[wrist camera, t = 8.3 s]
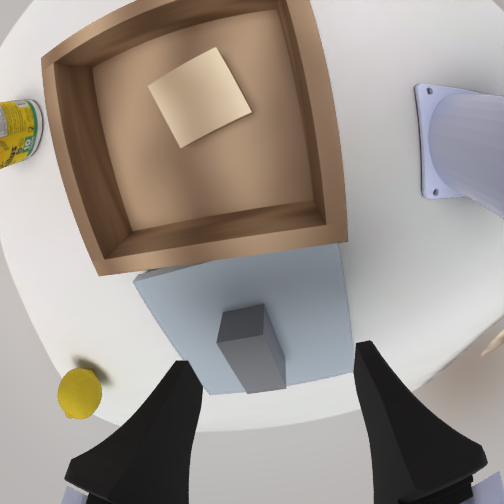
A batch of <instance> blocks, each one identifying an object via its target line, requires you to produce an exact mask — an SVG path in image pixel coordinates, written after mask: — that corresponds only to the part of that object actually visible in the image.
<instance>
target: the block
mask: <svg viewBox="0 0 504 504" xmlns="http://www.w3.org/2000/svg"><path fill="white" fill-rule="evenodd" d="M148 88H149V90H150V92H151V93H152V95H153V97H154V99H155V101H156V103H157V105H158V107H159V109H160V111H161V112H162V114H163V116H164V118H165V120H166V122H167V124H168V126H169V127H170V129H171V131H172V133H173V135H174V137H175V139H176V141H177V142H178V144H179V146H180V148H183V147H186V146H189V145H192V144H193V143H195V142H197V141H199V140H201V139H203V138H204V137H206V136H208V135H210V134H212V133H214V132H216V131H218V130H220V129H222V128H224V127H226V126H228V125H230V124H232V123H234V122H236V121H238V120H240V119H242V118H245V117H247V116H249V115H251V114H253V111H252V109H251V107H250V105H249V103H248V101H247V99H246V97H245V95H244V94H243V92H242V90H241V88H240V86H239V84H238V82H237V81H236V79H235V77H234V75H233V73H232V71H231V70H230V68H229V66H228V64H227V63H226V61H225V59H224V57H223V56H222V54H221V53H220V52H219V50H218V49H217V48H216V47H215V48H213V49H211V50H209V51H207V52H205V53H203V54H201V55H199V56H197V57H195V58H193V59H192V60H190V61H188V62H186V63H184V64H183V65H181V66H179V67H177V68H176V69H174V70H172V71H171V72H169V73H167V74H166V75H164V76H163V77H161V78H159V79H158V80H156V81H155V82H153V83H152V84H150V85H149V86H148Z"/></svg>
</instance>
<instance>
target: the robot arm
mask: <svg viewBox="0 0 504 504" xmlns="http://www.w3.org/2000/svg"><path fill="white" fill-rule="evenodd" d="M427 88H428V89H429V91H430V94H428V93H427ZM415 93H416V99H417V107H418V115H419V124H420V135H421V151H422V193H423V196H424V197H425V198H427V199H429V200H430V199H441V198H452V197H464V196H467V197H469V198H470V199H472V200H474V201H476V202H477V203H479V204H481V205H482V206H484V207H486V208H487V209H489V210H491V211H492V212H494V213H495V214H497V215H498V216H500V217H501V218H503V219H504V96H498V95H487V94H483V93H478V92H474V91H469V90H464V89H459V88H453V87H447V86H440V85H432V84H423V83H421V84H417V85H416V87H415ZM434 189H436V192H435V194H433V191H434ZM353 373H354V379H355V385H356V391H357V395H358V399H359V402H360V406H361V410H362V413H363V417H364V421H365V425H366V428H367V432H368V436H369V442H370V449H371V458H372V469H373V485H374V504H504V489H503V484H502V480H501V476H500V472H497V473H495V474H493V475H492V476H490V477H488V478H487V479H485V480H484V481H482V482H480V483H478V484H476V485H474V486H472V487H471V482H473V476H472V475H473V474H474V473H476V472H477V471H479V470H480V469H482V468H483V467H485V466H486V465H487V463H488V462H487V458H486V455H485V452H484V450H483V448H482V446H481V445H479V444H478V443H476V442H474V441H472V440H470V439H468V438H467V437H465V436H463V435H462V434H460V433H459V432H457V431H456V430H454V429H452V428H451V427H450V426H449V425H447V424H446V423H445V422H443V421H442V420H441V419H439V418H438V417H437V416H436V415H434V414H433V413H432V412H431V411H430V410H429V409H427V408H426V407H425V406H424V405H423V404H422V403H421V402H420V401H419V400H418V399H417V398H416V397H415V396H414V395H413V394H412V393H411V391H410V390H409V389H408V388H407V387H406V386H405V385H404V384H403V383H402V381H401V380H400V379H399V378H398V376H397V375H396V374H395V373H394V372H393V370H392V369H391V368H390V366H389V365H388V364H387V362H386V361H385V360H384V358H383V357H382V356H381V354H380V353H379V351H378V350H377V348H376V347H375V345H374V344H373V342H372V341H370V340H369V341H365V342H360V343H356V350H355V361H354V371H353ZM202 393H203V385H202V384H201V382H200V380H199V379H198V377H197V375H196V373H195V372H194V370H193V368H192V366H191V365H190V363H189V361H188V360H186V361H175V363H174V364H173V365H172V367H171V368H170V369H169V371H168V372H167V373H166V375H165V376H164V377H163V379H162V380H161V381H160V383H159V384H158V385H157V387H156V388H155V389H154V391H153V392H152V393H151V394H150V396H149V397H148V398H147V400H146V401H145V402H144V403H143V404H142V405H141V407H140V408H139V409H138V410H137V411H136V412H135V413H134V414H133V415H132V417H131V418H130V419H129V420H128V421H127V422H126V423H124V424H123V425H122V426H121V427H120V428H119V429H118V430H117V431H115V432H114V433H113V434H112V435H111V436H109V437H108V438H107V439H105V440H104V441H103V442H101V443H100V444H98V445H97V446H95V447H94V448H92V449H90V450H89V451H87V452H85V453H83V454H81V455H79V456H77V457H75V458H73V459H72V460H71V462H70V464H69V467H68V469H67V472H66V475H65V478H64V479H65V480H66V481H68V482H69V483H71V484H73V485H75V486H77V487H79V488H81V489H83V490H85V491H87V492H89V495H88V496H86V495H84V494H82V493H80V492H78V491H76V490H74V489H73V488H71V487H67V488H66V491H65V494H64V497H63V500H62V503H61V504H189V493H188V492H189V467H190V457H191V450H192V444H193V440H194V436H195V431H196V427H197V423H198V418H199V414H200V410H201V404H202Z"/></svg>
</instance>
